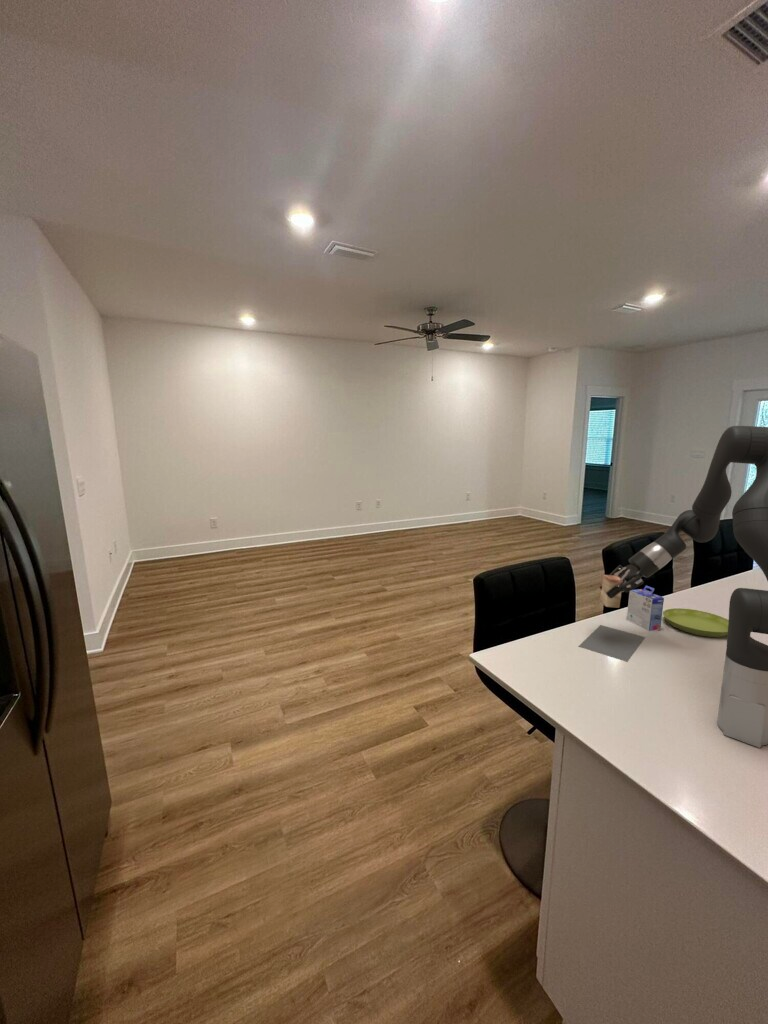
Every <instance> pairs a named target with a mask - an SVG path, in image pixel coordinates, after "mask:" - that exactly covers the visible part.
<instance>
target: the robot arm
mask: <svg viewBox="0 0 768 1024" xmlns="http://www.w3.org/2000/svg"><path fill="white" fill-rule="evenodd" d="M731 463H734V464H735V463H736V464H748V465H754V466H755V470H756V475H755V479H754V480H753V482H752V484H751V485H750V486H749V487H748V489H747V490H745V492H743V494H742V495H741V496H740V497H739V498H738V499H737V501H736V502H735V504H734V506H733V508H732V517H731V518H732V529H733V536H734V538H735V540H736V541H737V543H738V544H739V546H740V547H741V548H742V550H744V552H745V553H746V554H747V555H748V556H749V558H751V559H752V560H753V561H754V562H755V564H756V565H757V566H758V567H759V568H760V570H761V571H762V573H763V575H764V576H765V577H766V581H767V582H768V426H753V425H750V426H749V425H731V426H729V427H727V428H726V429H725V430H724V432H722V434H721V436H720V438H719V440H718V442H717V445H716V448H715V451H714V454H713V455H712V459H711V462H710V464H709V468H708V472H707V474H706V476H705V477H706V478H705V479H704V483H703V485H702V486H701V489H700V491H699V493H698V494H697V496H696V497H695V499H694V501H693V502H692V505H691V509H687V510H684V511H682V512H681V513H680V514H679V515H678V516H677V518H676V519H675V520H674V522H673V523H672V525H671V526H670V527H668V529H667V530H666V531H665V532H664V534H662V535H661V536H659V537H658V538H656V539H655V540H654V541H653V542H651V543H650V544H648V545H646V546H645V547H643V548H642V549H640V550H639V551H638V552H637V553H635V554H634V555H632V556H631V557H630V558H629V559H628V562H629V564H628V565H626V566H624V567H623V566H622V564H619V565H618V566H617V567H615V568H614V570H612V571H611V572H610V573H609V574H608V575H613V576H617V577H619V578H620V580H621V582H619V583H618V584H617V585H616V586H617V587H616V586H615V587H613V588H612V589H610V590H609V591H608V592H606V594H607V595H608V596H609V597H610V598H613V597H614V596H616V595H617V594H618V593H620V592H621V593H624V592H625V593H630V591H631V590H636V589H637V588H638V587H640V586H642V585H644V583H645V582H644V581H643V579H642V578H643V577H644V578H647V579H648V578H649V577H651V576H652V575H654V574H655V573H657V572H658V571H660V570H661V569H662V568H664V567H665V566H666V565H667V564H668V563H669V562H670V561H671V560H673V559H674V558H675V557H677V556H679V555H680V554H681V553H683V552H684V551H685V550H686V549H687V544H686V542H685V541H684V540H683V539H682V538H681V536H680V533H681V532H683V533H684V534H685V535H687V536H689V538H691V539H692V540H693V541H695V542H697V543H707V542H709V541H711V540H712V539H714V538H715V536H716V535H717V533H718V531H719V529H720V523H721V522H720V521H721V516H722V513H723V511H724V509H725V508H726V506H728V503H729V501H730V500H731V497H732V487H731V483H730V481H729V478H728V475H727V468H728V466H729V464H731ZM599 589H600V591H601V590H602V584H601V585H600V586H599ZM728 620H729V623H728V634H727V635H726V648H725V650H726V651H725V658H724V663H723V673H722V680H721V686H720V687H721V689H720V696H719V701H718V702H719V704H718V712H717V719H716V720H717V721H716V724H717V726H718V728H719V729H720V730H721V731H722V732H723V735H724V736H726V737H728V738H732V739H734V740H736V741H740V742H743V743H744V744H748V745H751V746H753V747H756V748H759V749H761V748H762V746H767V745H768V644H765V643H763V642H762V641H759V640H757V639H755V638H754V637H751V633H756V634H763V635H768V590H765V589H756V588H749V587H748V588H746V587H744V588H743V587H737V588H735V589H734V590H733V592H731V595H730V598H729V606H728Z"/></svg>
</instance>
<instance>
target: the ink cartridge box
mask: <svg viewBox="0 0 768 1024" xmlns="http://www.w3.org/2000/svg"><path fill="white" fill-rule="evenodd" d="M648 589H649V590H648ZM654 591H655V588H654V587H651V586H648V585H647V584H646V585H645V586H644V587H643V588H640V589H639V588H635V589H633V590H631V591H629V592H628V603H627V604H628V605H627V613H626V618H625V619H626V621H628V622H629V623H632V624H634V625H636V626H638V627H640V628H642V629H644V630H647V631H648V632H651V631H658V632H659V631H661V627H662V619H663V612H664V610H663V608H664V600H665V597H664V596H661V595H658V594H655V593H654Z"/></svg>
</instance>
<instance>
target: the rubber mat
mask: <svg viewBox="0 0 768 1024" xmlns="http://www.w3.org/2000/svg"><path fill="white" fill-rule="evenodd" d="M645 639H646V636H644V635H638V634H635V633H631V632H628V631H624V630H621V629H617V628H614V627H610V626H605V625H602V624H600V625H599V626H598V627H597V628H596V629H594V631H593V632H592V633H590V634H589V636H587V637H586V638H585V639H584V641H582V642H581V643H580V644H579V645H578V647H579V648H582V649H584V650H585V649H586V650H589V651H591V652H595V653H597V654H601V655H603V656H606V657H610V658H613V659H617V660H620V661H623V662H626V663H628V662H629V661H630V659H631V657H632V656H633V655H634V653H636V651H637V650H638V648H639V647H640V645H641V644H642V643H643V642H644V640H645Z"/></svg>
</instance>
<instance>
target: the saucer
mask: <svg viewBox="0 0 768 1024" xmlns="http://www.w3.org/2000/svg"><path fill="white" fill-rule="evenodd" d="M662 616H663V617H664V619H665V620H666V621H667V623H669V625H671V626H672V627H674V628H675V629H677V630H680V631H682V632H685V633H687V634H692V635H696V636H700V637H701V636H702V637H708V638H715V637H716V638H719V637H720V638H721V637H724V636H727V634H728V623H729V618H725V617H723V616H720V615H718V614H715V613H711V612H708V611H703V610H697V609H692V608H680V607H679V608H678V607H677V608H669V609H664V610H663V611H662Z"/></svg>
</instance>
